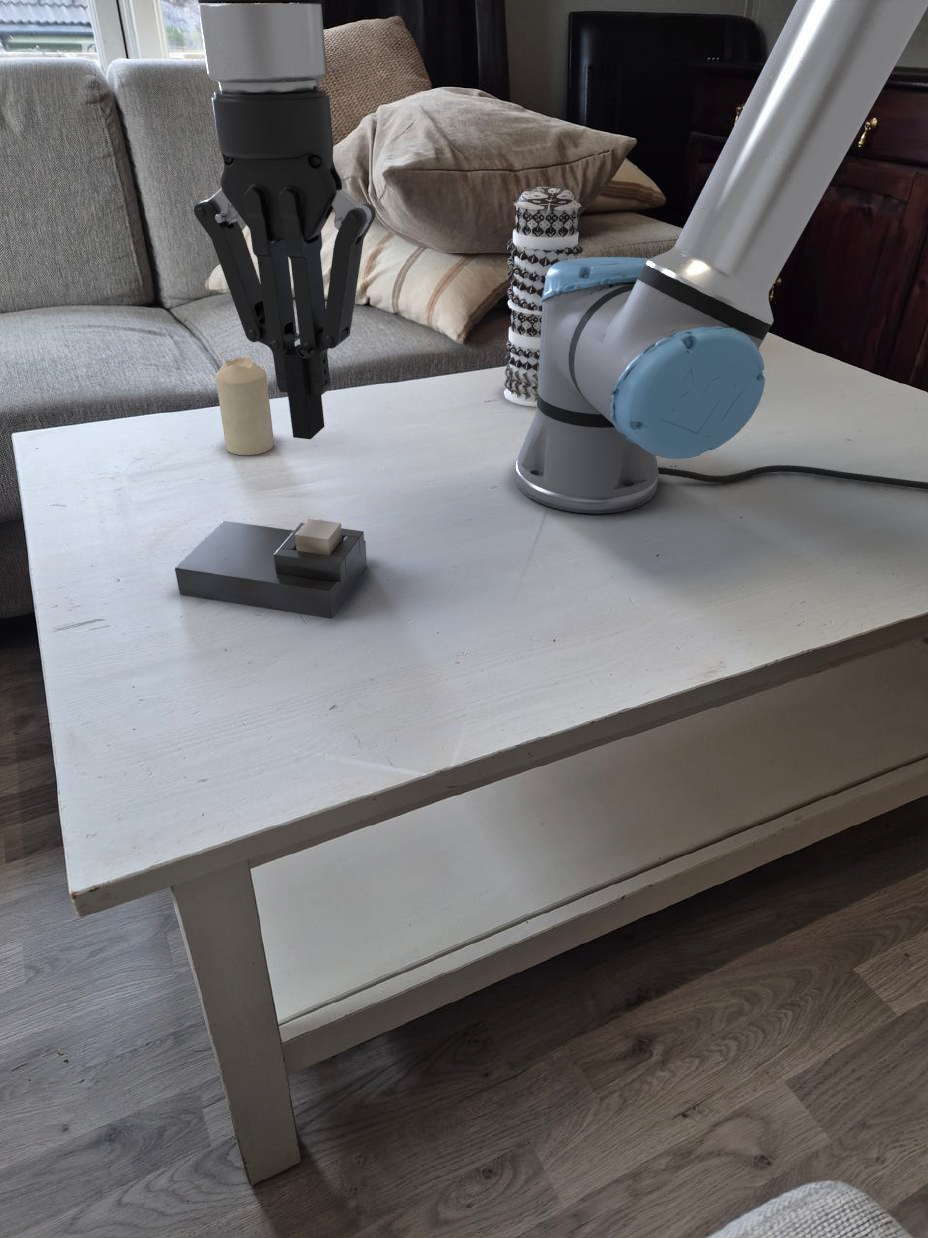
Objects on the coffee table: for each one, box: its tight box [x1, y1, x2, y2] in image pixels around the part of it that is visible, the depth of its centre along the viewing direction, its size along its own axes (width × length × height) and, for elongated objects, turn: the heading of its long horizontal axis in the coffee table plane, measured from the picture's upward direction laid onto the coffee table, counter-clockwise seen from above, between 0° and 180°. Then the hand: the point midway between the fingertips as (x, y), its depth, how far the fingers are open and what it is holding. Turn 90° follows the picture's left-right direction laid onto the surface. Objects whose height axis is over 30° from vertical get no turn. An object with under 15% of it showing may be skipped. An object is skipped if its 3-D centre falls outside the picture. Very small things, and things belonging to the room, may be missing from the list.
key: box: [295, 518, 342, 556], centre depth 75 cm, size 3×3×2 cm
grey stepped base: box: [174, 520, 368, 619], centre depth 78 cm, size 14×9×4 cm, turn 76°
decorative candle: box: [503, 186, 584, 408], centre depth 112 cm, size 9×9×25 cm
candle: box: [215, 357, 275, 456], centre depth 100 cm, size 6×6×10 cm
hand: (309, 431), depth 70 cm, fingers closed
